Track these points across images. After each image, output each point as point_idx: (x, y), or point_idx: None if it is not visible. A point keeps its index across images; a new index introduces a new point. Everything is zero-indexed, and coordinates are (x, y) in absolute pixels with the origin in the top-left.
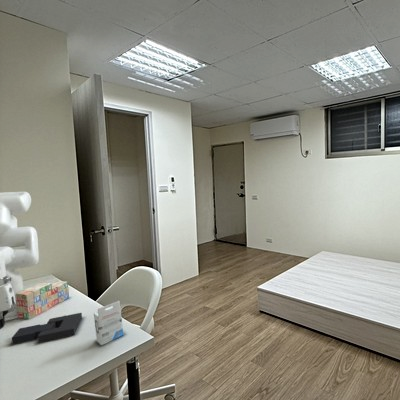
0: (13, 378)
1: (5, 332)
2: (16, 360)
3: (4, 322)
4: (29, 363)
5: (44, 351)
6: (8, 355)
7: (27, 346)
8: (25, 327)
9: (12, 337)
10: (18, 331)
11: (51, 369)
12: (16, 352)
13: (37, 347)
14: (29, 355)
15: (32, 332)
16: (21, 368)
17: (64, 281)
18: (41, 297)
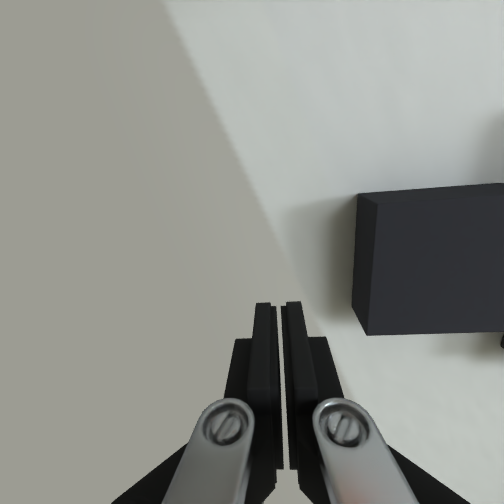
0: None
1: (217, 98)
2: (419, 442)
3: (329, 359)
4: (478, 476)
5: None
6: (369, 397)
7: (443, 356)
8: (426, 207)
9: (370, 335)
10: (386, 261)
11: None
12: (400, 387)
13: (497, 384)
14: (468, 430)
15: (500, 320)
16: (453, 490)
17: None
18: None
